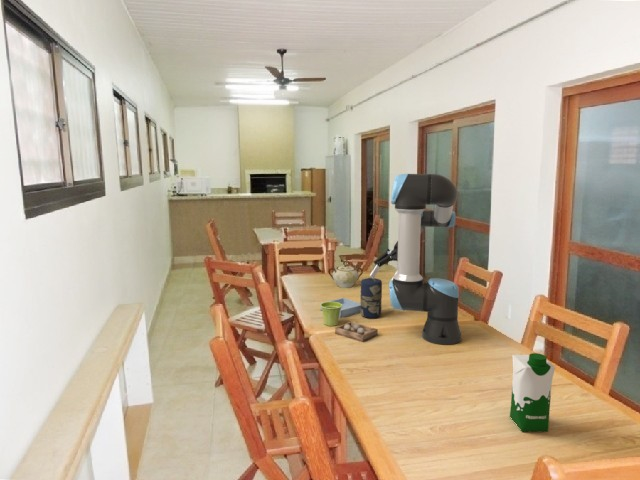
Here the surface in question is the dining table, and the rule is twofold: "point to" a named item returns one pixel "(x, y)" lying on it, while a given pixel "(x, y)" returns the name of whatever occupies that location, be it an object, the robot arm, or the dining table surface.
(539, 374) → the milk carton
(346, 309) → the slate dish
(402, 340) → the dining table surface
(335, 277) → the sugar bowl
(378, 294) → the canister
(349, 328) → the pebble tray
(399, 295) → the robot arm
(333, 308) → the plant pot
